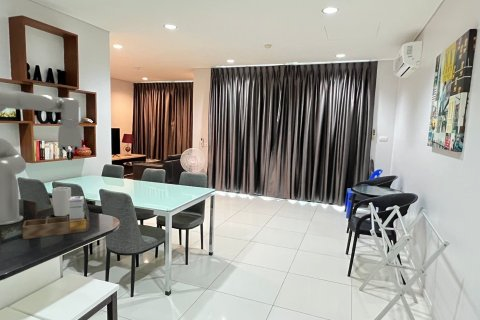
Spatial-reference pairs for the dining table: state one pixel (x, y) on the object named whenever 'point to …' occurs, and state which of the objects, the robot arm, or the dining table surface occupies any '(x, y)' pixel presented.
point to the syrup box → (76, 208)
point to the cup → (61, 201)
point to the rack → (53, 227)
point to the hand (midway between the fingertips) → (70, 159)
